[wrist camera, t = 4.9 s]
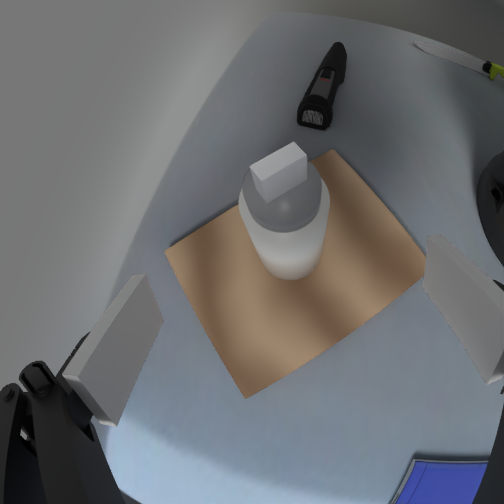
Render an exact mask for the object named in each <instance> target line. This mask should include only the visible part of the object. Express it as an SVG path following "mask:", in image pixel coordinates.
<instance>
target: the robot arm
mask: <svg viewBox="0 0 504 504" xmlns="http://www.w3.org/2000/svg"><path fill="white" fill-rule="evenodd" d="M478 207H479V213H480V217H481V221H482V224H483V227H484V230H485V233H486V235H487V238H488V240H489V242H490V244H491V246H492V248H493V250H494V252H495V254H496V255H497V257H498V259H499V260H500V262H501V263H502V264H503V266H504V151H503V152H501V153H500V154H498V155H497V156H495V157H494V158H493V159H492V160H491V162H490V163H489V164H488V166H487V167H486V168H485V170H484V171H483V173H482V174H481V177H480V180H479V184H478ZM422 288H423V289H424V291H425V292H426V293H427V295H428V296H429V297H430V299H431V300H432V301H433V303H434V304H435V306H436V307H437V308H438V310H439V311H440V313H441V314H442V315H443V317H444V318H445V320H446V321H447V323H448V324H449V326H450V327H451V329H452V330H453V332H454V333H455V335H456V336H457V338H458V339H459V341H460V342H461V344H462V345H463V347H464V349H465V350H466V352H467V353H468V355H469V356H470V358H471V360H472V361H473V363H474V365H475V366H476V368H477V370H478V371H479V373H480V375H481V377H482V378H483V380H484V382H485V384H486V385H488V384H491V383H493V382H495V381H497V380H499V379H501V378H502V376H503V374H504V285H503V284H501V283H499V282H498V281H496V280H492V279H490V278H489V277H488V276H487V275H486V274H485V273H484V272H483V271H482V270H481V269H480V268H479V267H478V266H477V265H476V264H474V263H473V262H472V261H471V260H470V259H469V258H468V257H467V256H466V255H464V254H463V253H462V252H461V251H460V250H459V249H458V248H456V247H455V246H454V245H453V244H452V243H451V242H449V241H448V240H447V239H446V238H445V237H443V236H442V235H434V236H428V239H427V252H426V262H425V271H424V280H423V287H422ZM163 321H164V320H163V317H162V315H161V312H160V310H159V307H158V304H157V302H156V299H155V297H154V294H153V291H152V289H151V286H150V283H149V281H148V278H147V275H146V274H139V275H132V277H131V278H130V279H129V280H128V282H127V283H126V284H125V286H124V287H123V288H122V290H121V291H120V292H119V294H118V295H117V296H116V298H115V299H114V300H113V302H112V303H111V304H110V306H109V307H108V308H107V310H106V311H105V312H104V314H103V315H102V316H101V318H100V319H99V321H98V322H97V323H96V325H95V326H94V328H93V329H92V331H91V332H89V333H88V334H86V335H85V336H84V337H83V338H82V339H81V340H80V341H79V343H78V344H77V345H76V347H75V348H76V349H74V350H73V351H72V353H71V356H69V357H68V359H67V360H66V362H65V363H64V365H63V366H62V368H61V369H60V371H59V372H58V374H57V375H56V377H55V376H54V375H53V373H52V372H51V371H50V369H49V368H48V366H47V365H46V363H45V362H43V361H35V362H32V363H30V364H29V365H27V366H26V367H25V368H24V369H23V370H22V372H21V373H20V376H19V380H20V382H21V383H22V384H23V386H24V387H25V388H26V389H27V391H28V392H23V391H22V389H21V388H20V387H19V386H18V385H17V384H15V383H11V384H9V385H6V386H5V387H3V389H2V390H1V391H0V504H126V503H125V501H124V499H123V497H122V495H121V492H120V490H119V488H118V486H117V484H116V482H115V479H114V477H113V475H112V472H111V470H110V468H109V465H108V463H107V460H106V458H105V455H104V452H103V450H102V447H101V444H100V442H99V439H98V436H97V433H96V430H95V427H94V425H93V424H92V422H91V421H90V420H91V418H92V416H93V415H94V416H95V417H96V419H97V420H98V421H99V422H100V423H101V424H105V425H110V426H116V427H117V425H118V423H119V420H120V418H121V415H122V413H123V410H124V408H125V406H126V403H127V401H128V399H129V396H130V394H131V392H132V389H133V387H134V385H135V382H136V380H137V378H138V376H139V373H140V371H141V369H142V367H143V364H144V362H145V360H146V358H147V356H148V353H149V351H150V349H151V347H152V345H153V342H154V340H155V338H156V336H157V334H158V332H159V330H160V328H161V325H162V323H163ZM503 393H504V387H503V388H502V390H501V393H500V394H503ZM21 429H22V431H23V432H25V434H26V435H27V439H26V440H25V439H24V438H23V437H22V436H20V433H21ZM472 504H504V405H503V410H502V415H501V419H500V423H499V427H498V431H497V435H496V438H495V442H494V445H493V449H492V452H491V455H490V458H489V461H488V464H487V467H486V470H485V473H484V475H483V478H482V480H481V483H480V486H479V488H478V490H477V493H476V495H475V497H474V500H473V502H472Z"/></svg>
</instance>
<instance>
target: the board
mask: <svg viewBox="0 0 504 504" xmlns="http://www.w3.org/2000/svg"><path fill="white" fill-rule="evenodd" d="M310 162H311V163H312V164H313V165H314V166H315V168H316V169H317V170H318V172H319V174H320V177H321V178H322V180H323V181H324V182H325V184H326V186H327V188H328V191H329V196H330V207H329V214H328V220H327V227H326V233H325V239H324V245H323V251H322V256H321V260H320V262H319V264H318V266H317V267H316V268H315V270H314V271H313V272H312V273H310V274H309V275H307V276H306V277H304V278H301V279H298V280H283V279H279V278H277V277H275V276H273V275H271V274H270V273H269V272H268V271H267V270H266V269H265V268H264V266H263V264H262V262H261V260H260V258H259V256H258V253H257V251H256V249H255V247H254V244H253V242H252V240H251V238H250V235H249V233H248V231H247V229H246V226H245V224H244V222H243V220H242V217H241V215H240V211H239V204H237V205H236V206H234V207H233V208H231V209H229V210H228V211H226V212H225V213H223V214H221V215H220V216H218V217H217V218H215V219H213V220H212V221H210V222H209V223H207V224H205V225H204V226H202V227H201V228H199V229H198V230H196V231H195V232H193V233H191V234H190V235H188V236H187V237H185V238H184V239H182V240H181V241H179V242H178V243H176V244H175V245H173V246H171V247H170V248H168V249H167V250H165V251H164V252H165V254H166V256H167V258H168V260H169V262H170V264H171V266H172V268H173V270H174V272H175V274H176V276H177V278H178V280H179V282H180V284H181V286H182V288H183V290H184V292H185V294H186V296H187V298H188V300H189V302H190V304H191V305H192V307H193V309H194V311H195V313H196V315H197V317H198V319H199V320H200V322H201V324H202V326H203V328H204V330H205V331H206V333H207V335H208V337H209V338H210V340H211V342H212V344H213V346H214V347H215V349H216V351H217V353H218V354H219V356H220V358H221V359H222V361H223V363H224V365H225V366H226V368H227V370H228V371H229V373H230V375H231V376H232V378H233V380H234V381H235V383H236V385H237V386H238V388H239V390H240V391H241V393H242V394H243V396H244V398H245V399H246V398H248V397H249V396H251V395H253V394H255V393H257V392H259V391H260V390H262V389H264V388H266V387H267V386H269V385H271V384H273V383H274V382H276V381H278V380H279V379H281V378H283V377H284V376H286V375H288V374H289V373H291V372H293V371H294V370H296V369H297V368H299V367H301V366H302V365H304V364H305V363H307V362H309V361H310V360H312V359H313V358H315V357H316V356H318V355H319V354H321V353H322V352H324V351H325V350H327V349H328V348H330V347H331V346H333V345H334V344H336V343H337V342H339V341H340V340H341V339H343V338H344V337H346V336H347V335H349V334H350V333H351V332H353V331H354V330H356V329H357V328H358V327H360V326H361V325H362V324H364V323H365V322H366V321H368V320H369V319H370V318H372V317H373V316H374V315H376V314H377V313H378V312H380V311H381V310H382V309H384V308H385V307H386V306H387V305H389V304H390V303H391V302H392V301H394V300H395V299H396V298H397V297H399V296H400V295H401V294H402V293H403V292H405V291H406V290H407V289H408V288H409V287H411V286H412V285H413V284H414V283H415V282H417V281H418V280H419V279H420V278H421V277H422V276H424V271H425V262H426V256H425V255H424V254H423V252H422V251H421V250H420V248H419V247H418V246H417V244H416V243H415V242H414V240H413V239H412V238H411V237H410V235H409V234H408V233H407V231H406V230H405V229H404V228H403V226H402V225H401V224H400V223H399V221H398V220H397V219H396V218H395V217H394V215H393V214H392V213H391V212H390V211H389V209H388V208H387V207H386V206H385V205H384V204H383V202H382V201H381V200H380V199H379V198H378V197H377V195H376V194H375V193H374V192H373V191H372V190H371V189H370V188H369V186H368V185H367V184H366V183H365V182H364V181H363V180H362V179H361V178H360V177H359V175H358V174H357V173H356V172H355V171H354V170H353V169H352V168H351V167H350V166H349V165H348V164H347V163H346V162H345V161H344V160H343V159H342V158H341V157H340V156H339V155H338V154H337V153H336V152H335V151H334V150H333V149H332V150H330V151H328V152H326V153H324V154H323V155H321V156H319V157H317V158H316V159H314V160H312V161H310Z"/></svg>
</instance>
